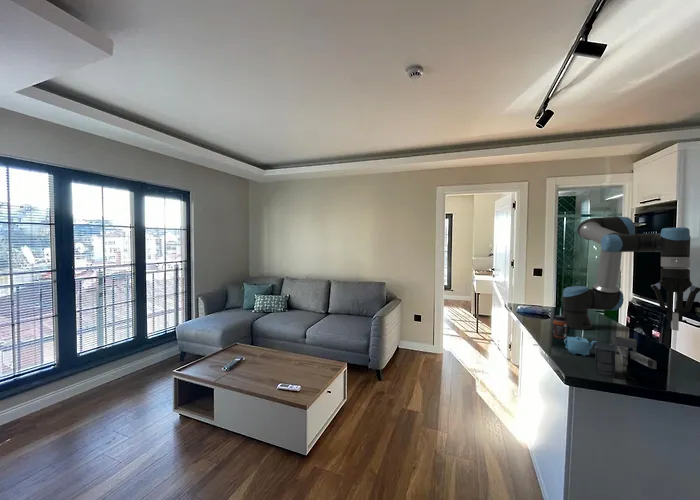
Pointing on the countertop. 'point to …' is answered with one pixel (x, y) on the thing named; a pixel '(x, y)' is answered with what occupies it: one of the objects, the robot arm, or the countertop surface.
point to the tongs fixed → (623, 355)
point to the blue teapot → (578, 345)
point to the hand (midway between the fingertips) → (674, 329)
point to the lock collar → (625, 343)
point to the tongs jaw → (643, 360)
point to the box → (605, 359)
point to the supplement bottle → (560, 327)
